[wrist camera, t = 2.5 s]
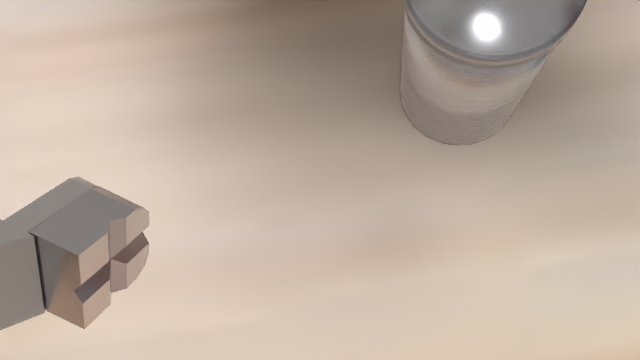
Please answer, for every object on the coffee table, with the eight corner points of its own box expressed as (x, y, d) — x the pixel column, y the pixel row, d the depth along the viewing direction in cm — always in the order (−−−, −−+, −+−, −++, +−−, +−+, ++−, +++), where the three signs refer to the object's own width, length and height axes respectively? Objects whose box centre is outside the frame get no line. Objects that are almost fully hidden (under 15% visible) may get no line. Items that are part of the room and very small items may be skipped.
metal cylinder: (379, 122, 24) (374, 19, 15) (423, 21, 25) (441, -131, 16) (494, 165, 23) (557, 80, 14) (535, 58, 24) (619, -83, 15)
